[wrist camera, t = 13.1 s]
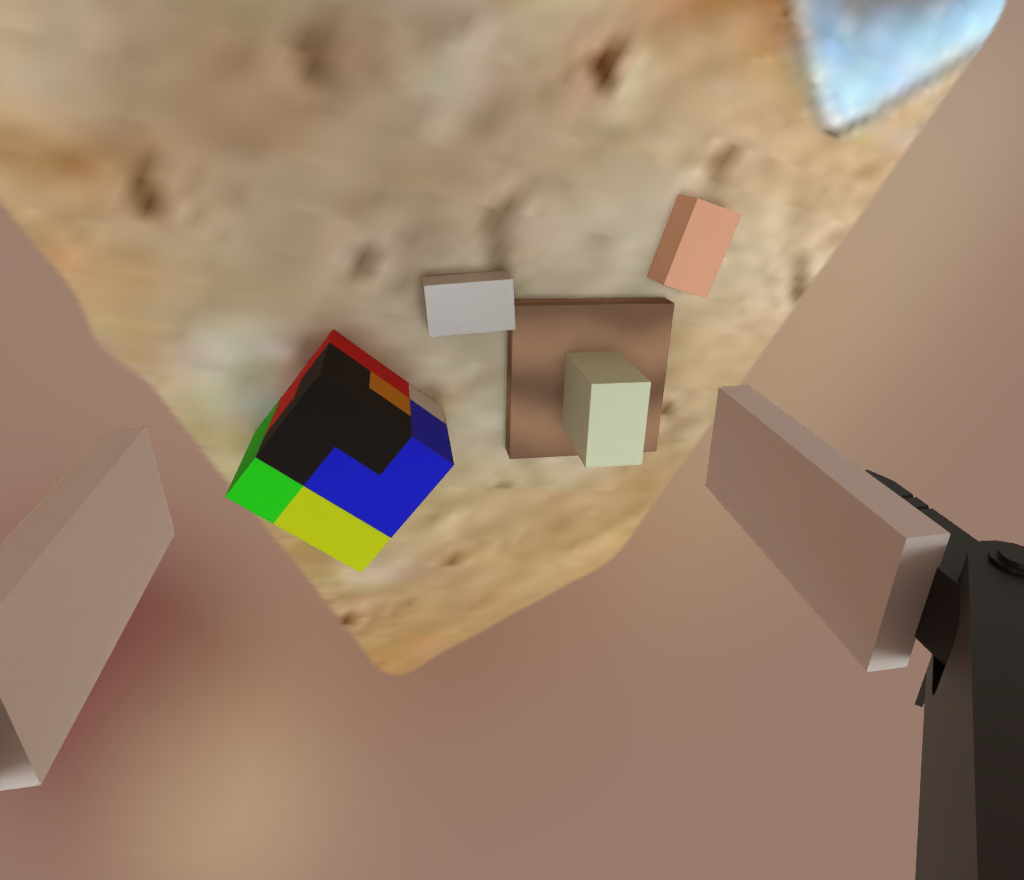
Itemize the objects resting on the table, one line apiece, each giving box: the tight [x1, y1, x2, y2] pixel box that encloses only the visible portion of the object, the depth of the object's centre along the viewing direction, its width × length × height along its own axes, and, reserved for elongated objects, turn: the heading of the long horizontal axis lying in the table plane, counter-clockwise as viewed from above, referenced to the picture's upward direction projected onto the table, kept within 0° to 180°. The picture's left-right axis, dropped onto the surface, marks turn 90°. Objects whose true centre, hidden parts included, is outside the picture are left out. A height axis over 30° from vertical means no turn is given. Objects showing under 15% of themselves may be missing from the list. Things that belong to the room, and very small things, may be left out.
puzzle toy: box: [225, 330, 454, 572], centre depth 46 cm, size 10×10×10 cm
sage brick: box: [562, 351, 651, 468], centre depth 47 cm, size 6×4×7 cm, turn 179°
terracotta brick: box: [647, 195, 742, 298], centre depth 48 cm, size 6×4×4 cm, turn 162°
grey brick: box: [422, 270, 515, 337], centre depth 47 cm, size 6×4×4 cm, turn 93°
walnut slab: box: [506, 298, 674, 459], centre depth 51 cm, size 12×12×2 cm
